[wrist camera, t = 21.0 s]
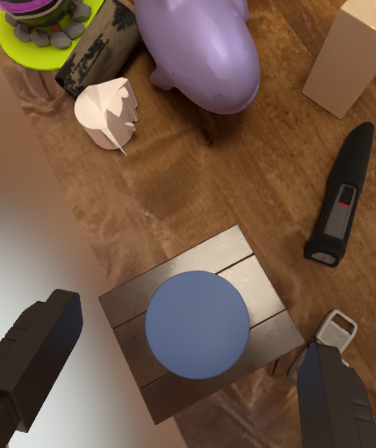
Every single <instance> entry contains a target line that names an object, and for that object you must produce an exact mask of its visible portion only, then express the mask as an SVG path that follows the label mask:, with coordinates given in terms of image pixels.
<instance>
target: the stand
mask: <svg viewBox="0 0 376 448" xmlns="http://www.w3.org/2000/svg"><path fill="white" fill-rule="evenodd" d="M197 270H200V271H207V272H211V273H214V274H216V275H219V276H221V277H222V278H224V279H226V280H227V281H228V282H230V283H231V284H232V285H233V286H234V287H235V288H236V289H237V291H238V292H239V293H240V295H241V296H242V298H243V300H244V302H245V304H246V307H247V310H248V314H249V322H250V329H249V336H248V341H247V344H246V347H245V349H244V351H243V353H242V355H241V356H240V357H239V359H238V360H237V361H236V362H235V363H234V365H233V366H231V367H230V368H229V369H228V370H226V371H225V372H223V373H221V374H219V375H217V376H214V377H211V378H206V379H190V378H185V377H182V376H179V375H177V374H174V373H173V372H171V371H169V370H168V369H167V368H165V367H164V366H163V365H162V364H161V363H160V362H159V361H158V360H157V358H156V357H155V356H154V354H153V352H152V350H151V349H150V346H149V344H148V341H147V337H146V331H145V317H146V311H147V308H148V305H149V302H150V300H151V298H152V296H153V295H154V293H155V292H156V290H157V289H158V288H159V287H160V286H161V285H162V284H163V283H164V282H165V281H167V280H168V279H169V278H171V277H173V276H175V275H177V274H179V273H183V272H186V271H197ZM98 299H99V301H100V303H101V305H102V308H103V310H104V312H105V314H106V317H107V319H108V321H109V323H110V326H111V328H112V329H113V332H114V334H115V337H116V339H117V341H118V343H119V345H120V348H121V350H122V352H123V354H124V357H125V359H126V361H127V363H128V365H129V368H130V370H131V372H132V374H133V377H134V379H135V381H136V383H137V385H138V388H139V390H140V392H141V395H142V397H143V399H144V401H145V404H146V406H147V408H148V410H149V412H150V415H151V417H152V419H153V421H154V424H155V425H157V424H159V423H161V422H163V421H164V420H166V419H168V418H170V417H172V416H174V415H176V414H177V413H179V412H181V411H183V410H185V409H186V408H188V407H190V406H192V405H194V404H196V403H197V402H199V401H201V400H203V399H205V398H207V397H208V396H210V395H212V394H214V393H216V392H217V391H219V390H221V389H223V388H225V387H227V386H228V385H230V384H232V383H234V382H236V381H237V380H239V379H241V378H243V377H245V376H247V375H248V374H250V373H252V372H254V371H256V370H258V369H259V368H261V367H263V366H265V365H267V364H268V363H270V362H272V361H274V360H276V359H278V358H279V357H281V356H283V355H285V354H287V353H288V352H290V351H292V350H294V349H296V348H298V347H299V346H301V345H303V344H305V340H304V339H303V337H302V335H301V333H300V332H299V330H298V328H297V326H296V325H295V323H294V321H293V319H292V318H291V316H290V314H289V312H288V311H287V309H286V307H285V306H284V304H283V302H282V300H281V298H280V297H279V295H278V293H277V291H276V290H275V288H274V286H273V284H272V283H271V281H270V279H269V277H268V276H267V274H266V272H265V270H264V269H263V267H262V265H261V263H260V262H259V260H258V258H257V256H256V255H255V254H254V251H253V249H252V248H251V246H250V244H249V242H248V241H247V239H246V237H245V235H244V234H243V232H242V230H241V228H240V227H239V225H238V224H235V225H233V226H231V227H229V228H228V229H226V230H224V231H222V232H220V233H218V234H216V235H214V236H212V237H211V238H209V239H207V240H205V241H203V242H201V243H199V244H197V245H196V246H194V247H192V248H190V249H188V250H186V251H184V252H182V253H180V254H179V255H177V256H175V257H173V258H171V259H169V260H167V261H165V262H163V263H162V264H160V265H158V266H156V267H154V268H152V269H150V270H148V271H146V272H145V273H143V274H141V275H139V276H137V277H135V278H133V279H131V280H129V281H128V282H126V283H124V284H122V285H120V286H118V287H116V288H114V289H112V290H111V291H109V292H107V293H105V294H103V295H101V296H99V298H98Z"/></svg>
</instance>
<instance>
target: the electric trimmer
mask: <svg viewBox="0 0 376 448" xmlns="http://www.w3.org/2000/svg"><path fill="white" fill-rule="evenodd" d="M373 135H374V125H373V124H372V123H370V122H364V123H362V124H360V125H359V126H357V127H356V128H355V129H353V130H352V131H351V132H350V134H349V136H348V138H347V140H346V142H345V144H344V146H343V148H342V150H341V152H340V154H339V157H338V159H337V161H336V163H335V165H334V167H333V170H332V172H331V174H330V177H329V179H328V186H329V193H328V197H327V200H326V203H325V206H324V209H323V212H322V215H321V218H320V221H319V224H318V226H317V229H316V232H315V234H314V236H313V237H312V238H311V239H310V240H309V242H308V243H307V246H306V248H305V251H306V252H307V253H306V256H305V257H306V258H307V259H308V260H311V261H314V262H317V263H319V264H322V265H325V266H328V267H336V266H337V265H338V264H339V261H340V260H341V259H342V258H343V256H344V254H345V251H346V246H347V243H348V239H349V235H350V232H351V227H352V223H353V219H354V215H355V211H356V206H357V203H358V199H359V196H360V194H361V191H362V188H363V184H364V180H365V175H366V170H367V166H368V161H369V156H370V152H371V147H372V142H373Z"/></svg>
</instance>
